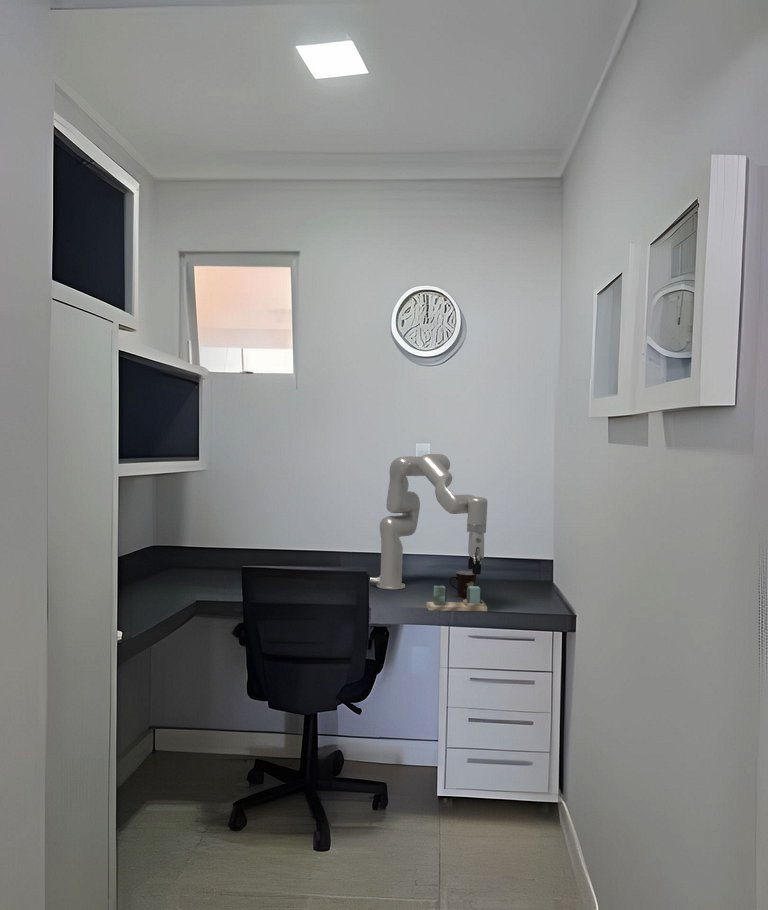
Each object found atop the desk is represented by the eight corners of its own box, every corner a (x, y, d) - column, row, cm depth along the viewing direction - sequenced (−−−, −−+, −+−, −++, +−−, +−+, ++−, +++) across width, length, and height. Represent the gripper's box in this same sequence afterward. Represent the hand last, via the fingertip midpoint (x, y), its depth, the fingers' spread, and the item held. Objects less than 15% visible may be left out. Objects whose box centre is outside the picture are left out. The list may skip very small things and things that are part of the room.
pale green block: (477, 603, 321) (478, 586, 320) (479, 606, 317) (480, 588, 316) (466, 603, 320) (466, 586, 320) (468, 605, 316) (468, 588, 316)
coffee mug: (474, 594, 346) (475, 571, 345) (476, 598, 337) (477, 575, 337) (447, 593, 346) (448, 570, 345) (449, 598, 337) (449, 574, 337)
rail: (428, 610, 313) (429, 588, 313) (426, 605, 321) (427, 584, 321) (487, 611, 315) (487, 589, 314) (483, 606, 323) (484, 585, 322)
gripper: (490, 532, 309) (487, 576, 310) (481, 525, 326) (479, 567, 327) (470, 531, 309) (468, 575, 310) (463, 525, 326) (461, 566, 327)
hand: (474, 571), depth 318 cm, fingers open, 9 cm apart
